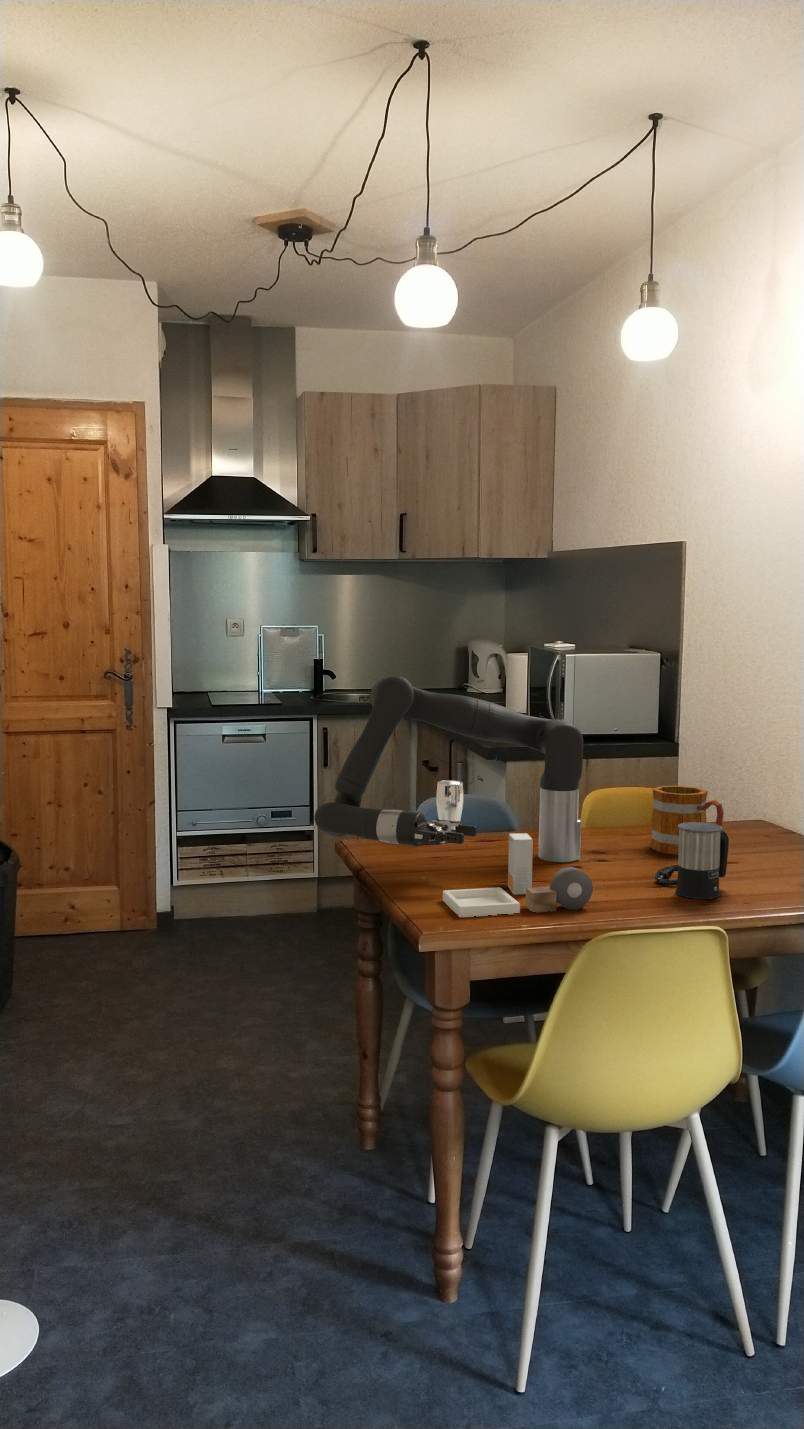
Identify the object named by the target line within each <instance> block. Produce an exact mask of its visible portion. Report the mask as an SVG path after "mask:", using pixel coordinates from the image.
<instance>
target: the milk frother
mask: <svg viewBox="0 0 804 1429" xmlns="http://www.w3.org/2000/svg"><path fill="white" fill-rule="evenodd" d="M678 827H679V854H678V862H677V864H675V865H669V866H665V867H662V868H661V869H660V868H659V870H657V871H656V872H655V874H654V879H655V881H656V882H657V883H660V884H662V885H665V886H676V889H675V893H676V894H677V895H679V896H681V897H683V898H687V899H693V900H694V899H695V900H712V899H716V898H719V897H720V896H721V892H720V878H725V877H726V876H727V875H726V874H727V867H728V865H727V864H728V855H729V846H730V845H729V843H730V841H729V839H730V838H729V834H727V832H726V831H725V830H723V826H722V827H721V826H719V825H716V823H712V822H711V823H710V822H706V823H704V822H687V823H681V824H679V825H678ZM675 872H677V879H670V878H671V877H672V876H673V874H674V873H675Z"/></svg>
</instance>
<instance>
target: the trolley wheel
mask: <svg viewBox="0 0 804 1429" xmlns="http://www.w3.org/2000/svg"><path fill="white" fill-rule="evenodd" d="M549 887H551V888H552V889H553V890H555V891H556V892H557V898H556V903H557V904H560V905H561V907H563V908H565V909H568V910H579V909H581V908H583V907H584V906H586V904H588V902H590V899H592V898H591V897H592V895H593V890H594V886H593V882H592V880H591V878H590V877H589V875H588V874H586V873H585V872H584V871H583V870H580V869H579V868H577V867H573V866H567V867H563V868H561V869H560V870H558V871H556V873H555V874H554V875H553V877H552V879H551V881H550V886H549Z"/></svg>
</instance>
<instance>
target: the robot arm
mask: <svg viewBox="0 0 804 1429" xmlns="http://www.w3.org/2000/svg"><path fill="white" fill-rule="evenodd" d="M369 699H370V702H371V706H372V708H371V712H370V714H369V717H368V720H367V722H366V724H365V726H364V728H363V730H362V732H361V734H360V736H359V737H358V739H357V740H356V742H355V744H354V745H353V748H351V750H350V753H349V754H347V755H348V756H347V757H346V760H345V761H344V763H343V766H342V767H341V770H340V771H339V774H338V775H337V778H336V780H335V783H334V789H335V791H336V796H335V799H334V802H333V801H330V802H324V803H322V804H321V805H319V807H317V809H316V810H315V812H314V818H313V819H314V823H315V825H316V827H317V828H318V830H320V831H321V832H323V833H324V834H328V835H330V836H333V837H335V838H343V837H346V836H347V835H351V836H356V837H358V838H361V839H364V840H369V841H381V842H384V843H387V844H394V845H395V844H396V845H402V846H403V845H404V846H412V847H419V846H421V845H422V844H429V845H430V844H431V845H441V844H446V843H449V844H458V845H462V844H463V843H464V841H465V836H466V837H475V836H477V832H478V830H477V829H478V827H477V826H476V825H469V824H468V825H466V824H462V822H461V821H460V822H459V821H448V820H439V818H437V819H435V820H430V822H428V821H427V820H426V817H425V815H424V814H423V812H420V811H412V810H411V811H409V810H403V809H402V810H401V809H382V808H381V809H380V808H373V807H372V808H370V807H367V808H366V807H361V804H362V799H363V795H364V793H365V792H366V789H367V787H368V785H369V783H370V781H371V779H372V777H373V775H374V772H375V770H376V768H377V766H378V763H379V761H380V758H381V757H382V754H383V752H384V749H385V748H386V746H387V744H388V742H389V740H390V738H391V737H392V735H393V733H394V731H395V730H396V728H397V727H398V725H399V723H400V722H401V720H402V719H407V720H413V721H419V722H423V723H425V724H430V725H432V726H435V727H438V728H439V729H443V730H446V731H448V732H452V733H454V734H457V735H458V734H459V735H462V736H464V737H468V738H473V739H476V740H480V741H484V742H485V741H486V742H492V743H506V744H507V743H509V744H515V745H519V746H522V747H526V748H527V749H528V748H529V749H531V750H534V751H537V752H539V753H542V754H543V755H544V770H543V773H542V775H541V776H540V779H539V780H540V781H539V784H540V785H539V817H538V818H539V819H538V821H539V823H538V825H539V826H538V859H540V860H542V861H546V862H553V863H569V862H575V861H580V860H581V845H582V844H581V841H582V840H581V839H582V838H581V837H582V821H581V820H580V819H579V799H580V798H579V793H580V792H579V791H580V781H581V778H582V775H583V764H584V762H583V761H584V737H583V734H582V732H581V730H580V729H579V728H578V727H577V726H575V725H574V724H573V723H570V722H566V721H564V720H559V719H552V718H551V719H549V718H543V717H537V716H531V715H526V714H524V713H523V714H522V713H520V712H518V711H515V710H514V709H511V708H508V707H505V706H502V705H500V704H497V703H494V702H491V701H488V700H484V699H481V698H480V699H479V698H476V697H472V696H467V695H459V694H450V693H438V692H432V691H428V690H424V689H421V688H419V687H416V686H412V684H411V683H410V681H408V679H407V678H405V677H403V676H399V675H390V676H387V677H384V678H382V679H380V680H378V681H377V682H376V683H375V684H374V685H373V686H372V688H371V691H370V694H369ZM452 826H455V830H453V829H451V827H452Z"/></svg>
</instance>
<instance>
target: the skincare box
mask: <svg viewBox="0 0 804 1429" xmlns="http://www.w3.org/2000/svg"><path fill="white" fill-rule="evenodd" d="M533 841H534V840H533V838H532V837H531V835H529V834H528V833H526V832H525V833H508V864H507V866H508V867H507V868H508V869H507V870H508V874H507V876H508V877H507V881H508V882H507V887H508V888H509V890H510V892H511V893H512V895H515V896H517V895H526V888H533V887H532V886H533V847H534V846H533V844H534V843H533Z"/></svg>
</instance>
